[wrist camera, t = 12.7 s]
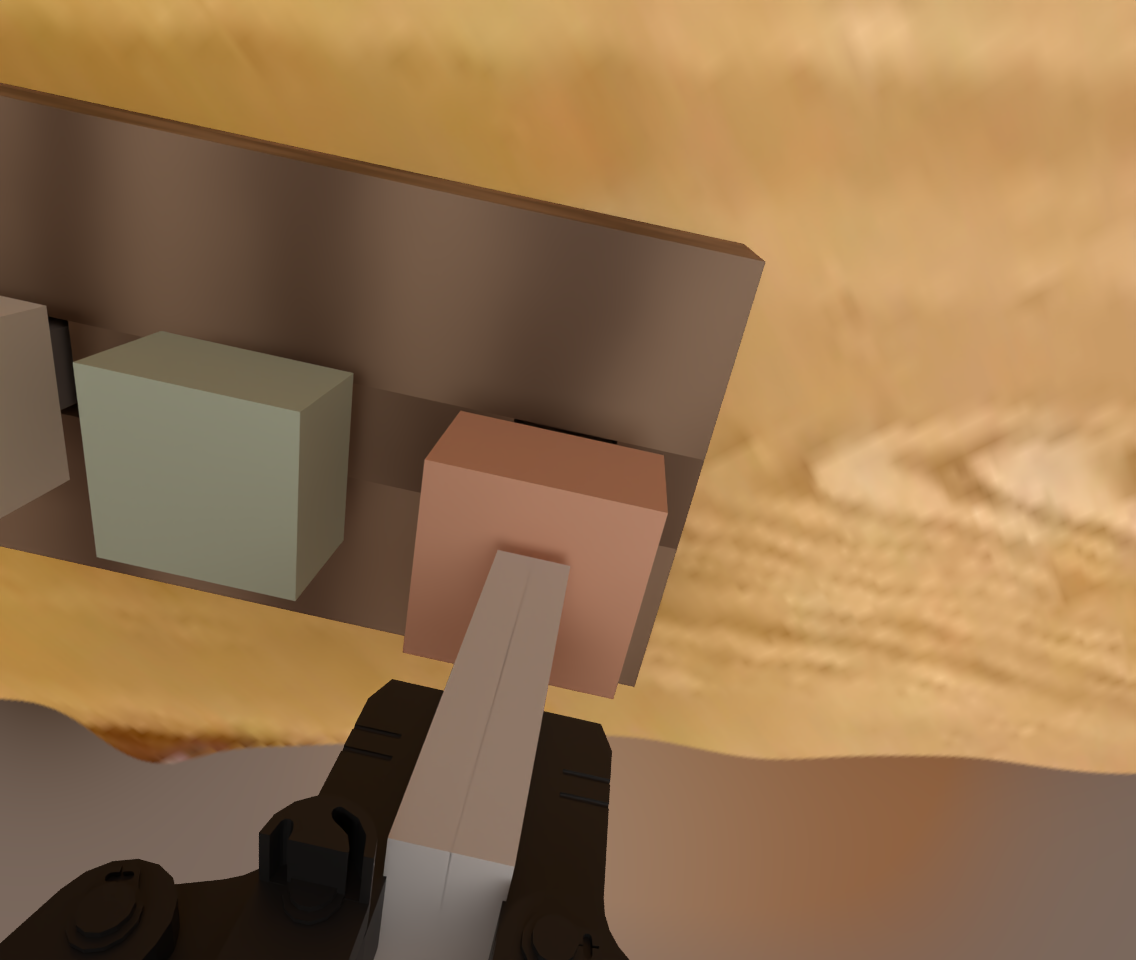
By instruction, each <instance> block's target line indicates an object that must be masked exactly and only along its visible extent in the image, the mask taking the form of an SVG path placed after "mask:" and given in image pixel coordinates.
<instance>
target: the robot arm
mask: <svg viewBox="0 0 1136 960" xmlns="http://www.w3.org/2000/svg"><path fill="white" fill-rule="evenodd" d="M569 571H570V566H568V565H564V564H559V563H555V562H550V561H546V560H541V559H537V558H532V557H528V556H523V555H519V554H514V553H510V552H505V551H501V550H497V553H496V556H495V558H494V561H493V564H492V566H491V569H490V571H489V574H488V577H487V579H486V582H485V585H484V587H483V590H482V592H481V595H480V598H479V600H478V603H477V605H476V608H475V611H474V613H473V616H472V619H471V621H470V624H469V626H468V629H467V632H466V634H465V637H464V640H463V642H462V645H461V647H460V650H459V653H458V655H457V658H456V660H455V663H454V666H453V668H452V671H451V674H450V676H449V679H448V681H447V684H446V687H445V689H444V691H443V690H438V689H434V688H429V687H425V686H420V685H416V684H411V683H407V682H403V681H398V680H394V679H392V680H390V681H389V682H388V683H387V684H386V685H384V686H383V687H382V688H381V689H379V690H378V691H377V692H376V693H374V694H373V695H372V696H371V697H370V698H368V700H367V702H366V704H365V706H364V708H363V710H362V712H361V714H360V716H359V718H358V720H357V722H356V723H355V727H354V729H352V731H351V733H350V735H349V737H348V739H347V741H346V743H345V745H344V748H343V751H341V753H340V754H339V756H338V758H337V761H336V762H335V764H334V766H333V768H332V770H331V772H330V774H329V776H328V778H327V779H326V781H325V783H324V786H323V787H322V789H321V791H320V793H319V795H318V796H314V797H311V798H307V799H303V800H299V801H296V802H294V803H292V804H290V805H289V806H287V807H286V808H284V809H282V810H281V811H279V812H278V813H276V814H274V815H273V817H272V818H271V819H270V820H269V822H268V823H267V824H266V825H265V826H264V827H263V829H262V830H261V831H260V832H259V869H258V870H255V871H253V872H250V873H248V874H246V875H243V876H239V877H234V878H229V879H223V880H214V881H204V882H194V883H184V884H174V880H173V877H172V876H171V875H169V874H168V873H167V872H166V871H165V870H164V869H163V868H162V867H161V866H160V865H159V864H155V863H151V862H147V861H144V860H140V859H133V860H122V861H112V862H110V863H107V864H105V865H102V866H99V867H97V868H94V869H92V870H89V871H86V872H85V873H83V874H82V875H80V876H79V877H78V878H76V879H75V880H73V881H72V882H70V883H69V884H68V885H66V886H65V887H63V888H62V889H60V891H58V892H57V893H56V894H55V895H54V896H53V897H51V898H50V899H49V900H48V901H47V902H46V903H45V904H44V905H43V906H42V907H40V908H39V909H38V910H37V911H36V912H35V913H34V914H32V915H31V916H30V917H29V918H28V919H27V920H26V921H25V922H24V923H22V924H21V925H20V926H19V927H18V928H17V929H16V930H15V931H14V932H12V933H11V934H10V935H9V936H8V937H7V938H6V939H5V940H3V941H2V942H1V943H0V960H629V959H628V958H627V956H625V954H624V953H623V952H622V951H621V949H620V948H619V947H618V945H617V943H616V941H615V940H614V938H613V936H612V934H611V932H610V930H609V927H608V924H607V921H606V917H605V912H604V883H605V865H606V847H607V828H608V811H609V809H608V804H609V793H610V785H609V783H610V775H611V757H612V750H611V748H610V745H609V743H608V741H607V738H606V735H605V733H604V731H603V728H602V726H601V724H598V723H594V722H589V721H585V720H580V719H576V718H572V717H567V716H563V715H558V714H554V713H549V712H545V711H544V706H545V700H546V695H547V689H548V684H549V679H550V673H551V668H552V662H553V657H554V652H555V646H556V641H557V635H558V630H559V625H560V619H561V614H562V608H563V603H564V598H565V592H566V587H567V581H568V576H569Z"/></svg>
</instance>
